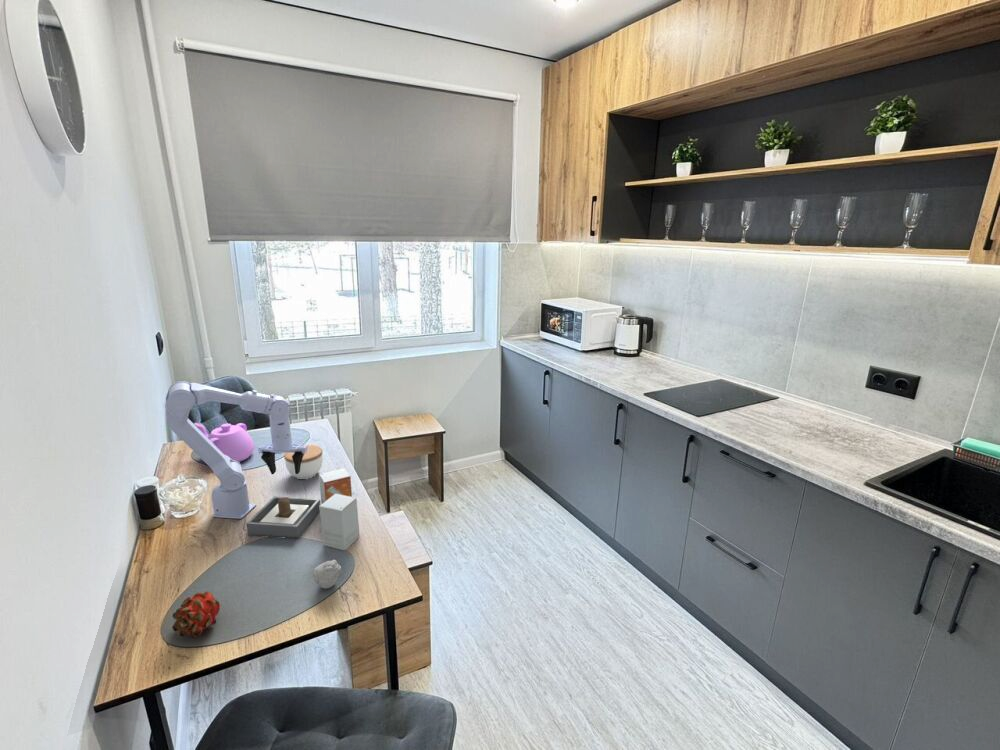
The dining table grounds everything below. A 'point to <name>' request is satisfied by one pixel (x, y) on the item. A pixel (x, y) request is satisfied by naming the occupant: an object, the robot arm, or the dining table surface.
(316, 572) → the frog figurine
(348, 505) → the supplement box
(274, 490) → the dining table surface
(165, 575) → the dining table surface
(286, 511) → the peg
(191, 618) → the dragon fruit
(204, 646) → the dining table surface
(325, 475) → the small box
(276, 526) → the square hole block
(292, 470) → the lidded bowl
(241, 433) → the teapot
